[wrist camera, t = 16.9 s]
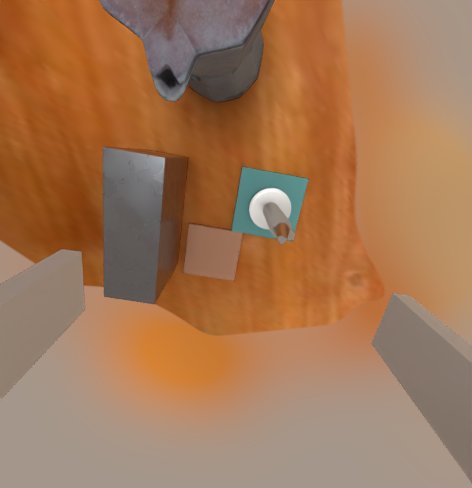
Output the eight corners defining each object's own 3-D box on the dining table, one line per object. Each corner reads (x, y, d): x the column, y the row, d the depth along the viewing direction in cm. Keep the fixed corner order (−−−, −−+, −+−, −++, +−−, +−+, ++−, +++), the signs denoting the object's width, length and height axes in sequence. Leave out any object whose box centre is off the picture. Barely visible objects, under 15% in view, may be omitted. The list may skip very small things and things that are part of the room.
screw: (294, 194, 31) (278, 230, 32) (257, 179, 30) (242, 216, 32) (331, 221, 18) (302, 276, 20) (270, 197, 18) (245, 256, 19)
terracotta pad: (184, 271, 35) (183, 273, 34) (189, 222, 32) (188, 224, 32) (234, 278, 35) (233, 281, 35) (242, 231, 33) (242, 233, 32)
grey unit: (138, 257, 34) (99, 295, 25) (142, 148, 30) (97, 145, 20) (177, 263, 34) (154, 304, 25) (188, 157, 30) (165, 157, 20)
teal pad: (231, 229, 33) (231, 231, 32) (242, 166, 30) (242, 166, 30) (291, 239, 33) (292, 241, 33) (307, 178, 30) (308, 178, 30)
